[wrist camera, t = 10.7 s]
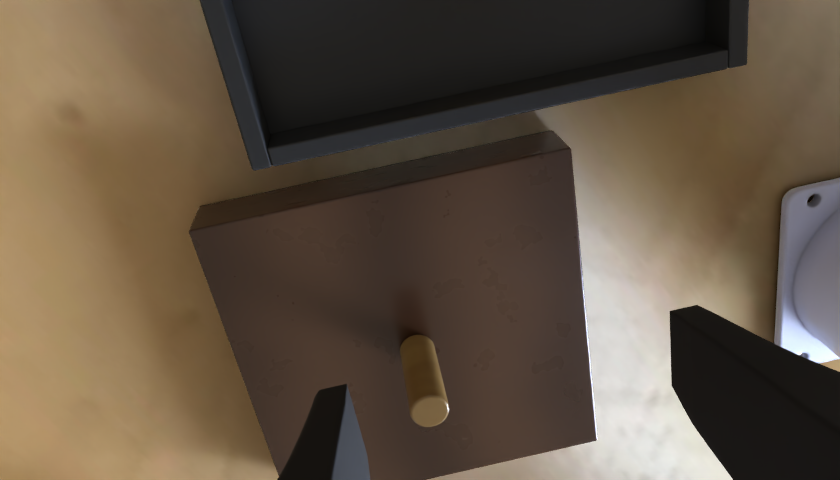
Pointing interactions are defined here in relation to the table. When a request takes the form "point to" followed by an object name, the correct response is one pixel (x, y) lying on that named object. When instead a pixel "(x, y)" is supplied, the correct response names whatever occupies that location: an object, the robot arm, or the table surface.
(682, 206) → the table surface
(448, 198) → the platform
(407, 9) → the tray
